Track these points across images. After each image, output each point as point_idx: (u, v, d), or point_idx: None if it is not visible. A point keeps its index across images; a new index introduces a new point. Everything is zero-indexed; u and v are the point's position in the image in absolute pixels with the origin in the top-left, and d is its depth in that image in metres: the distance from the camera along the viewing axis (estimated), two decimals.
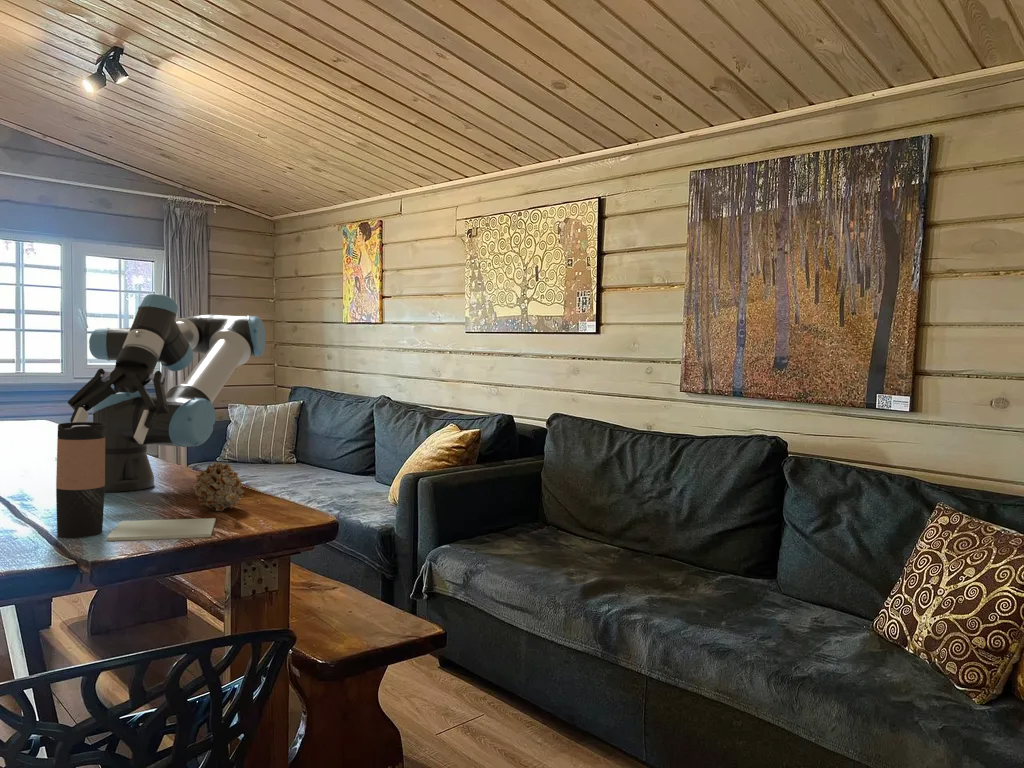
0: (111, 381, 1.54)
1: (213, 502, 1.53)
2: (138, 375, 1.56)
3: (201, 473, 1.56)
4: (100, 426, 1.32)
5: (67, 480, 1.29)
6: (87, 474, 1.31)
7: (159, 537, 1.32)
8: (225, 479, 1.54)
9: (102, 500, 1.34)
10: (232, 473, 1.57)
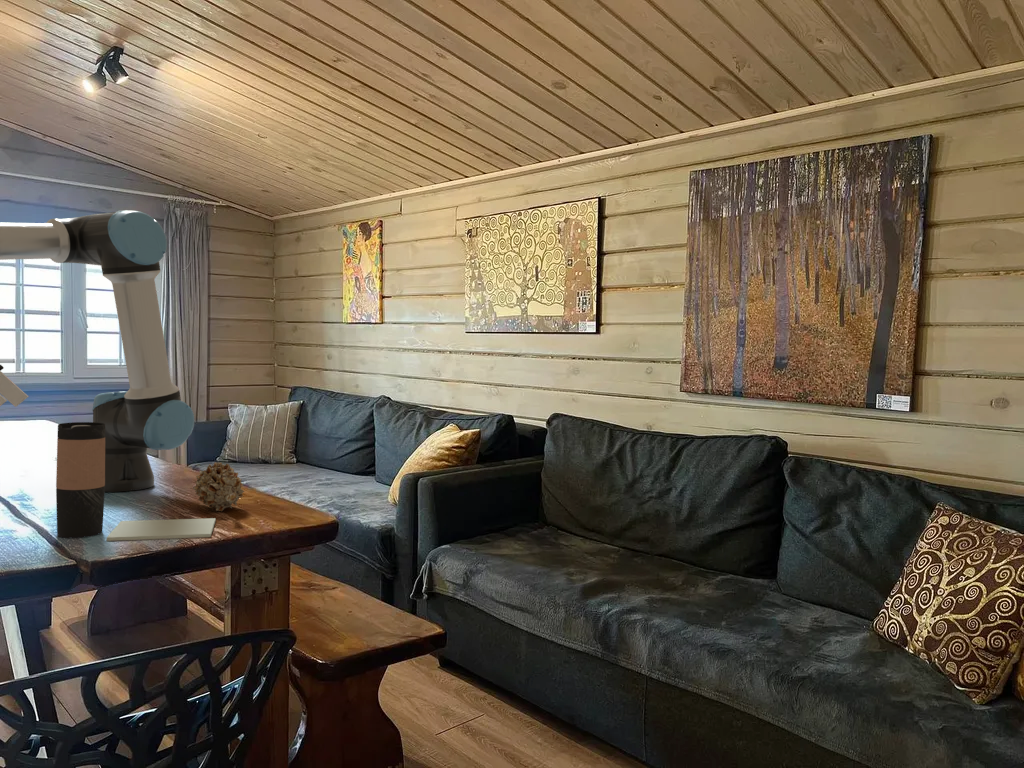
0: None
1: (213, 502, 1.53)
2: None
3: (201, 473, 1.57)
4: (100, 426, 1.32)
5: (67, 480, 1.29)
6: (87, 474, 1.31)
7: (159, 537, 1.32)
8: (225, 479, 1.54)
9: (102, 500, 1.34)
10: (232, 473, 1.57)
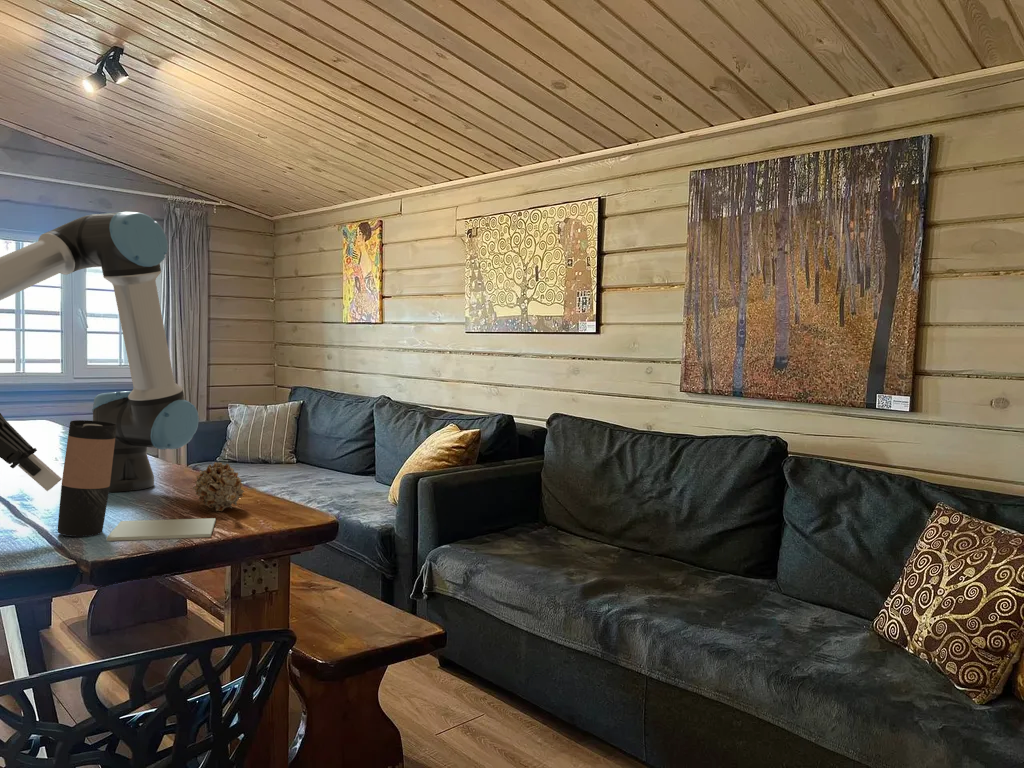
0: None
1: (213, 502, 1.53)
2: None
3: (201, 473, 1.56)
4: (112, 427, 1.33)
5: (73, 478, 1.30)
6: (94, 474, 1.31)
7: (159, 537, 1.32)
8: (225, 479, 1.54)
9: (106, 500, 1.34)
10: (232, 473, 1.57)
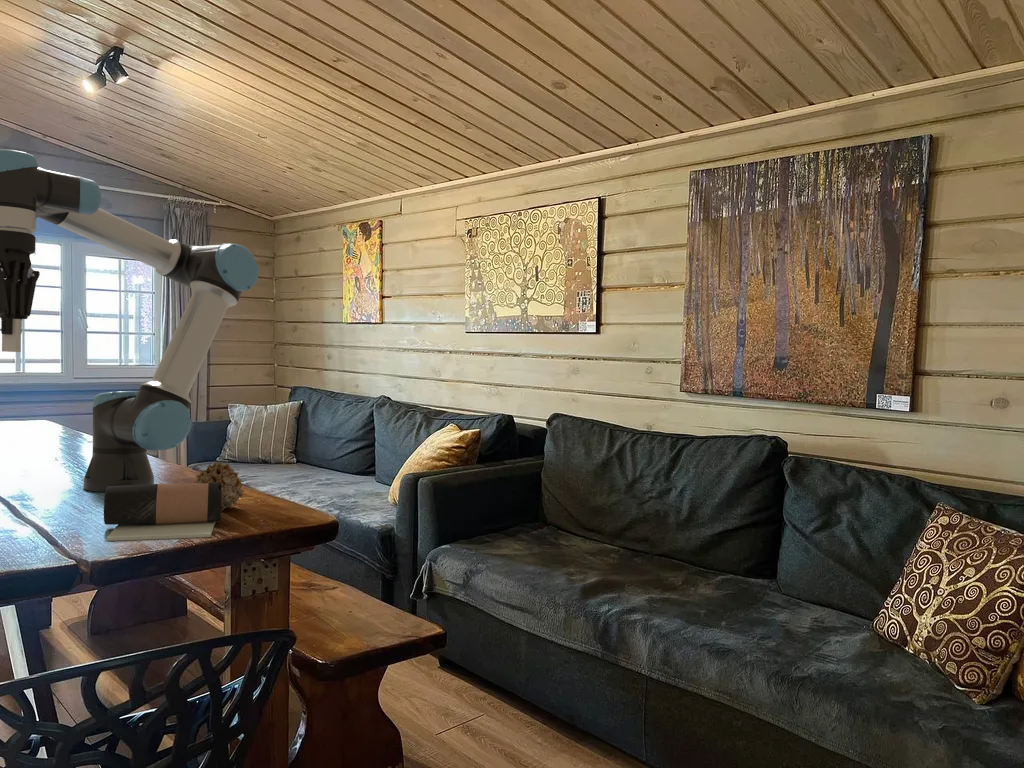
0: None
1: None
2: None
3: (201, 473, 1.56)
4: (219, 514, 1.42)
5: (166, 488, 1.39)
6: (171, 503, 1.38)
7: (159, 537, 1.32)
8: (225, 479, 1.54)
9: (140, 520, 1.37)
10: (232, 473, 1.57)
